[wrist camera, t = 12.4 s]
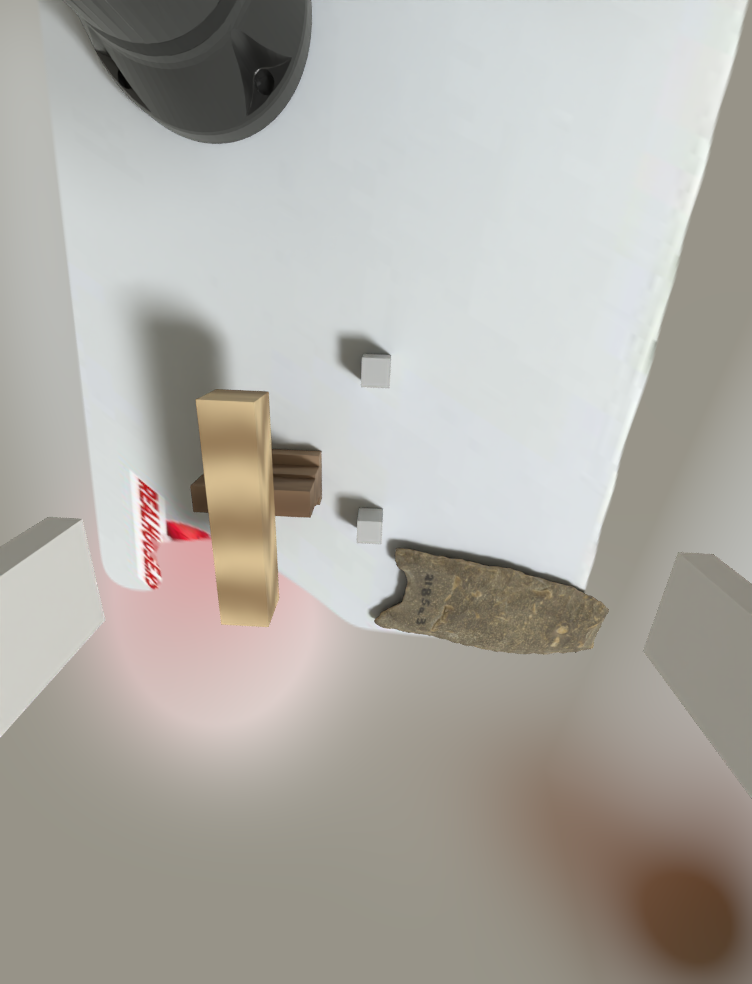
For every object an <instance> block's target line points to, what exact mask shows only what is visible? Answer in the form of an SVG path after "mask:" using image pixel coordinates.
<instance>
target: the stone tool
mask: <svg viewBox="0 0 752 984" xmlns="http://www.w3.org/2000/svg"><path fill="white" fill-rule="evenodd" d="M395 557H396V558H395V561H396V563H397V564H396V565H397V566H398V567H399V569H401V570H403V571H404V572H405V575H406V578H407V587H406V590H405V595H404V596H403V600H402V602H401V603H399V604H397V605H395V606H393V607H391V608H389V609H387V610H385V611H382V612H381V613H380V616H379V617H377V618H376V619H375V620H374V622H375V623H376V624H377V625H379V626H380V627H383V628H389V629H391V628H393V629H398V630H401V631H403V632H408V633H411V632H412V633H416V634H425V635H428V636H435V637H438V638H441V639H446V640H449V641H451V642H454V643H460V644H463V645H466V646H475V647H477V648H481V649H486V650H492V651H496V652H498V651H501V652H507V653H517V654H531V653H537V654H551V653H557V652H559V653H567V652H575V653H576V652H578V651H581V650H587V649H591V648H593V646H594V645H593V644H594V639H595V637H596V635H597V632H598V630H599V628H600V627H601V624H602V622H603V621H604V619H605V617H606V615H607V614H608V612H609V609H608V608H606V607H605V605H604V604H603V603H602V602H601V601H598V600H596V599H595V598H594V597H592V596H588V595H586V594H585V593H583V592H581V591H578V590H577V589H576V588H575V587H573V586H567V585H564V584H559V583H556V582H551V581H548V580H546V579H543V578H539V577H534V576H530V575H525V574H524V573H523V572H521V571H515V570H513V569H512V568H503V567H499V566H487V565H482V564H479V563H475V562H471V561H465V560H463V559H450V558H447V557H445V556H436V555H431V554H428V553H424V552H420V551H416V550H412V549H403V548H396V552H395Z"/></svg>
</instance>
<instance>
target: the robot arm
mask: <svg viewBox="0 0 752 984" xmlns="http://www.w3.org/2000/svg"><path fill="white" fill-rule="evenodd" d="M63 1H64V2H65V3H66V4H67V5H68V6H69V7H70V8H71V9H73V10H74V11H75V12H76V13H77V14H78V16H79V18H80V20H81V22H82V24H83V26H84V28H85V30H86V32H87V34H88V36H89V38H90V40H91V42H92V44H93V46H94V48H95V50H96V52H97V54H98V56H99V57H100V59H101V61H102V63H103V64H104V66H105V67H106V69H107V71H108V72H109V73H110V75H111V76H112V78H113V79H114V80H115V82H116V83H117V84H118V85H119V87H120V88H121V89H122V90H123V91H124V92H125V94H126V95H127V96H128V97H129V98H130V99H131V100H132V101H133V102H134V103H135V104H136V105H137V106H139V107H140V108H141V109H142V110H143V111H144V112H146V113H147V114H148V115H150V116H151V117H152V118H153V119H155V120H156V121H157V122H159V123H160V124H161V125H163V126H164V127H166V128H167V129H169V130H171V131H172V132H174V133H176V134H178V135H180V136H183V137H185V138H188V139H191V140H194V141H198V142H203V143H212V144H222V143H230V142H235V141H239V140H242V139H245V138H247V137H250V136H252V135H254V134H256V133H257V132H259V131H261V130H262V129H263V128H265V127H266V126H267V125H269V124H270V123H271V122H272V121H273V120H274V119H275V118H276V117H277V116H278V115H279V114H280V113H281V112H282V110H283V109H284V108H285V106H286V105H287V104H288V102H289V101H290V99H291V97H292V95H293V94H294V92H295V90H296V88H297V86H298V84H299V81H300V79H301V76H302V74H303V71H304V67H305V64H306V60H307V56H308V51H309V46H310V39H311V28H312V5H311V0H63ZM104 621H105V617H104V612H103V608H102V604H101V599H100V595H99V590H98V586H97V581H96V577H95V573H94V568H93V564H92V559H91V555H90V551H89V547H88V542H87V538H86V533H85V528H84V524H83V520H82V519H74V518H57V517H47V518H46V519H44V520H42V521H41V522H39V523H37V524H36V525H34V526H33V527H31V528H29V529H28V530H26V531H25V532H23V533H21V534H20V535H18V536H17V537H15V538H13V539H12V540H10V541H9V542H7V543H5V544H4V545H2V546H1V547H0V737H1V736H2V734H4V733H5V731H6V730H7V729H8V728H9V727H10V726H11V725H12V724H13V723H14V721H15V720H16V719H17V718H18V717H19V716H20V715H21V714H22V713H23V711H24V710H25V709H26V708H27V707H28V706H29V705H30V704H31V703H32V701H33V700H34V699H35V698H36V697H37V696H38V695H39V694H40V692H41V691H42V690H43V689H44V688H45V687H46V686H47V684H49V682H50V681H51V680H52V679H53V678H54V677H55V676H56V675H57V673H58V672H59V671H60V670H61V669H62V668H63V667H64V666H65V664H66V663H67V662H68V661H69V660H70V659H71V658H72V657H73V656H74V655H75V653H76V652H77V651H78V650H79V649H80V648H81V647H82V646H83V644H84V643H85V642H86V641H87V640H88V639H89V638H90V637H91V636H92V634H93V633H94V632H95V631H96V630H97V629H98V628H99V627H100V625H101V624H102V623H103V622H104ZM643 651H644V653H645V654H646V656H647V657H648V658H649V660H650V661H651V662H652V664H653V665H654V666H655V668H656V669H657V671H658V672H659V673H660V675H661V676H662V677H663V679H664V680H665V681H666V683H667V684H668V686H669V687H670V688H671V690H672V691H673V692H674V694H675V695H676V696H677V697H678V699H679V700H680V702H681V703H682V705H683V706H684V707H685V709H686V710H687V711H688V713H689V714H690V715H691V717H692V718H693V720H694V721H695V722H696V724H697V725H698V726H699V728H700V729H701V730H702V732H703V733H704V734H705V736H706V737H707V738H708V740H709V741H710V743H711V744H712V745H713V747H714V748H715V750H716V751H717V752H718V754H719V755H720V756H721V758H722V759H723V760H724V762H725V763H726V764H727V766H728V767H729V768H730V770H731V771H732V773H733V774H734V775H735V777H736V778H737V779H738V781H739V782H740V784H741V785H742V786H743V788H744V789H745V790H746V792H747V793H748V794H749V796H750V797H751V798H752V584H751V583H750V582H749V581H747V580H746V579H745V578H743V577H742V576H741V575H739V574H738V573H737V572H735V571H734V570H733V569H732V568H730V567H729V566H728V565H727V564H725V563H724V562H723V561H721V560H720V559H719V558H717V557H716V556H715V555H714V554H699V553H682V552H678V554H677V557H676V560H675V563H674V566H673V568H672V571H671V574H670V577H669V580H668V582H667V585H666V588H665V591H664V593H663V596H662V599H661V602H660V605H659V607H658V610H657V613H656V616H655V619H654V622H653V624H652V627H651V630H650V633H649V636H648V638H647V641H646V644H645V647H644V650H643Z"/></svg>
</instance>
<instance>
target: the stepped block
mask: <svg viewBox="0 0 752 984" xmlns="http://www.w3.org/2000/svg"><path fill="white" fill-rule="evenodd" d="M272 468H273V487H274V507H275V516H288V517H309V518H310V517H311V515H312V512H313V509H314V506H316V505H320V502H321V499H322V464H321V451H307V450H286V449H272ZM190 488H191V496H192V503H193V511H194V512H206V513H209V512H208V504H207V495H206V486H205V477H204V474H203V475H202V476H200V477H199V478H198V479H197V480H196V481H195V482H194V483H193V484H192V485H191V486H190Z"/></svg>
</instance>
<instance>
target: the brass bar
mask: <svg viewBox="0 0 752 984" xmlns="http://www.w3.org/2000/svg"><path fill="white" fill-rule="evenodd" d="M196 407H197V416H198V425H199V434H200V442H201V451H202V460H203V469H204V477H205V486H206V495H207V504H208V512H209V521H210V530H211V539H212V547H213V556H214V564H215V574H216V582H217V591H218V600H219V608H220V617H221V624H222V625H240V626H260V627H269V624H270V622H271V619H272V616H273V613H274V611H275V608H276V605H277V603H278V600H279V588H278V587H279V586H278V566H277V546H276V527H275V507H274V487H273V468H272V448H271V428H270V409H269V392H266V391H244V390H223V389H216V390H214V391H212V392H210V393H208V394H206V395H204V396H202V397H200V398H198V399H196Z"/></svg>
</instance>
